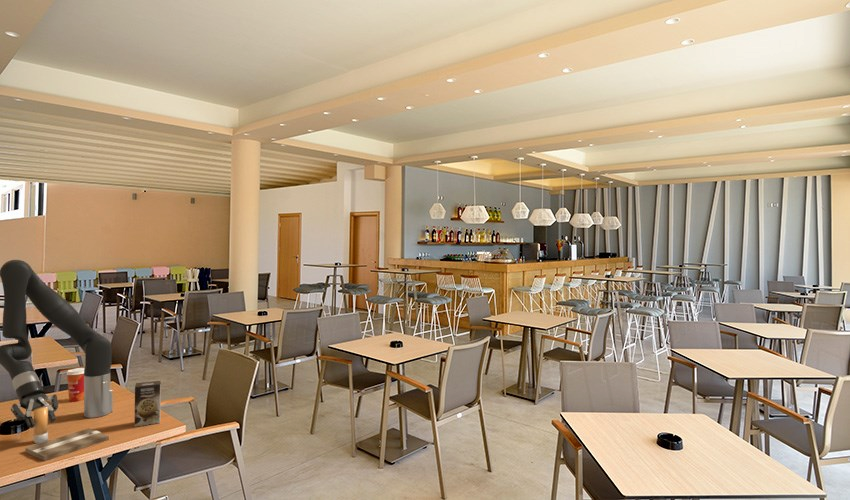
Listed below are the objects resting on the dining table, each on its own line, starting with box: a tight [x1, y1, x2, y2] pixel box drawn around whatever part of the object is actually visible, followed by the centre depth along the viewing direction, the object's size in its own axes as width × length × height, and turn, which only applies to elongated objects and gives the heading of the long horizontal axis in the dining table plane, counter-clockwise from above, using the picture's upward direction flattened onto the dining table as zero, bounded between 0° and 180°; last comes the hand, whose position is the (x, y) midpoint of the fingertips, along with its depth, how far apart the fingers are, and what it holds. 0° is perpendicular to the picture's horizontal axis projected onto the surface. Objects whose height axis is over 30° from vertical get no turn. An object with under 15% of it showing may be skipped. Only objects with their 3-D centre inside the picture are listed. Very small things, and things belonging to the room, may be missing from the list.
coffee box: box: [133, 380, 162, 428], centre depth 192 cm, size 9×6×16 cm
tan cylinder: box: [33, 407, 49, 444], centre depth 174 cm, size 4×4×12 cm
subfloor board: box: [24, 427, 109, 462], centre depth 170 cm, size 20×14×2 cm
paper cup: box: [66, 367, 85, 403], centre depth 220 cm, size 8×8×14 cm
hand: (43, 423), depth 173 cm, fingers open, 5 cm apart
